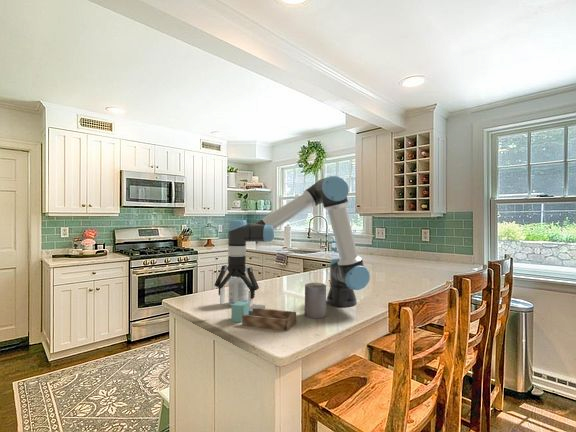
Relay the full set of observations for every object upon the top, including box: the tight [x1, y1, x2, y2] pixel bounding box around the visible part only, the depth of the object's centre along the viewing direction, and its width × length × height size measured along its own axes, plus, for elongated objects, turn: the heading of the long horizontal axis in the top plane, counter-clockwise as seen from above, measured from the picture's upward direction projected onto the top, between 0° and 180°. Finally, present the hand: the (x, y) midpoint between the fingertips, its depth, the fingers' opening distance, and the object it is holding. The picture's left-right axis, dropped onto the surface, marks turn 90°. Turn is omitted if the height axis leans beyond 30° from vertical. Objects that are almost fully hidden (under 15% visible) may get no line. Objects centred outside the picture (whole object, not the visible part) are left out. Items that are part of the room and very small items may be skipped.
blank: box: [230, 301, 249, 324], centre depth 135 cm, size 5×6×7 cm
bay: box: [241, 308, 297, 332], centre depth 131 cm, size 20×11×4 cm, turn 72°
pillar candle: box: [304, 281, 327, 319], centre depth 142 cm, size 10×10×15 cm
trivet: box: [249, 304, 266, 315], centre depth 145 cm, size 10×10×2 cm
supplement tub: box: [228, 277, 249, 306], centre depth 158 cm, size 10×10×15 cm
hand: (236, 304), depth 136 cm, fingers open, 13 cm apart
